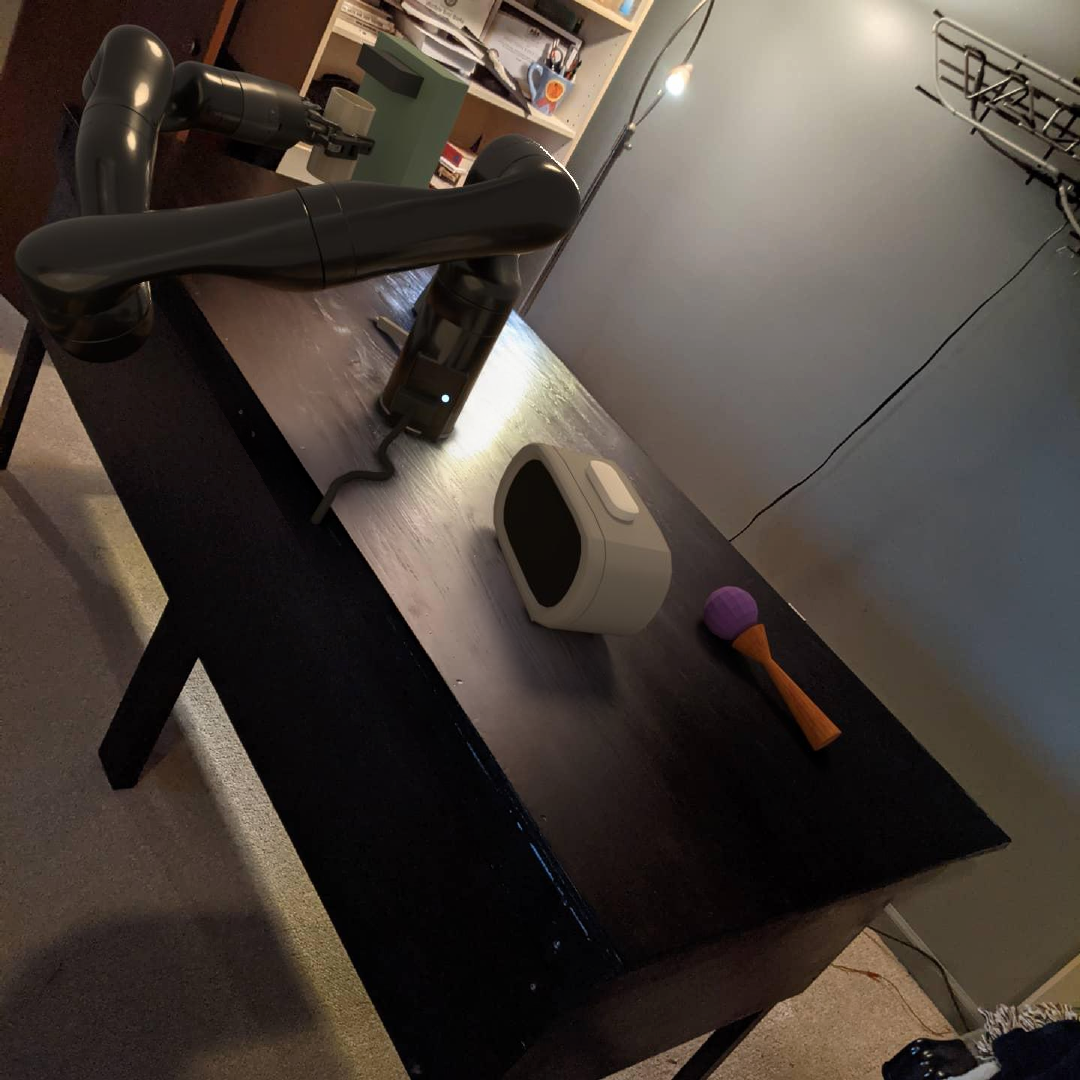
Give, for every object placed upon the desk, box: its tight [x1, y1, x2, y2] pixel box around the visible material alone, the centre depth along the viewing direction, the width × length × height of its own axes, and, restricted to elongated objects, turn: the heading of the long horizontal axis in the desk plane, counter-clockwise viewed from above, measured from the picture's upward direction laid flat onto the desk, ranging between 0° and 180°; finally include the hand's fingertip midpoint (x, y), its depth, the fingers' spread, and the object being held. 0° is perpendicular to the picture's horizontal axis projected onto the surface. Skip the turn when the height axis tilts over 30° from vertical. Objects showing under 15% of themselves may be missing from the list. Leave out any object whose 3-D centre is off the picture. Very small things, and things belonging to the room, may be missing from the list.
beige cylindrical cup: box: [305, 86, 376, 183], centre depth 115 cm, size 6×6×11 cm
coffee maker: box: [351, 30, 470, 189], centre depth 125 cm, size 16×14×29 cm
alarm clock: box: [492, 441, 673, 638], centre depth 84 cm, size 21×10×13 cm, turn 21°
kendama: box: [702, 585, 842, 752], centre depth 91 cm, size 6×6×20 cm
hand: (356, 135), depth 116 cm, fingers closed on beige cylindrical cup, 6 cm apart
